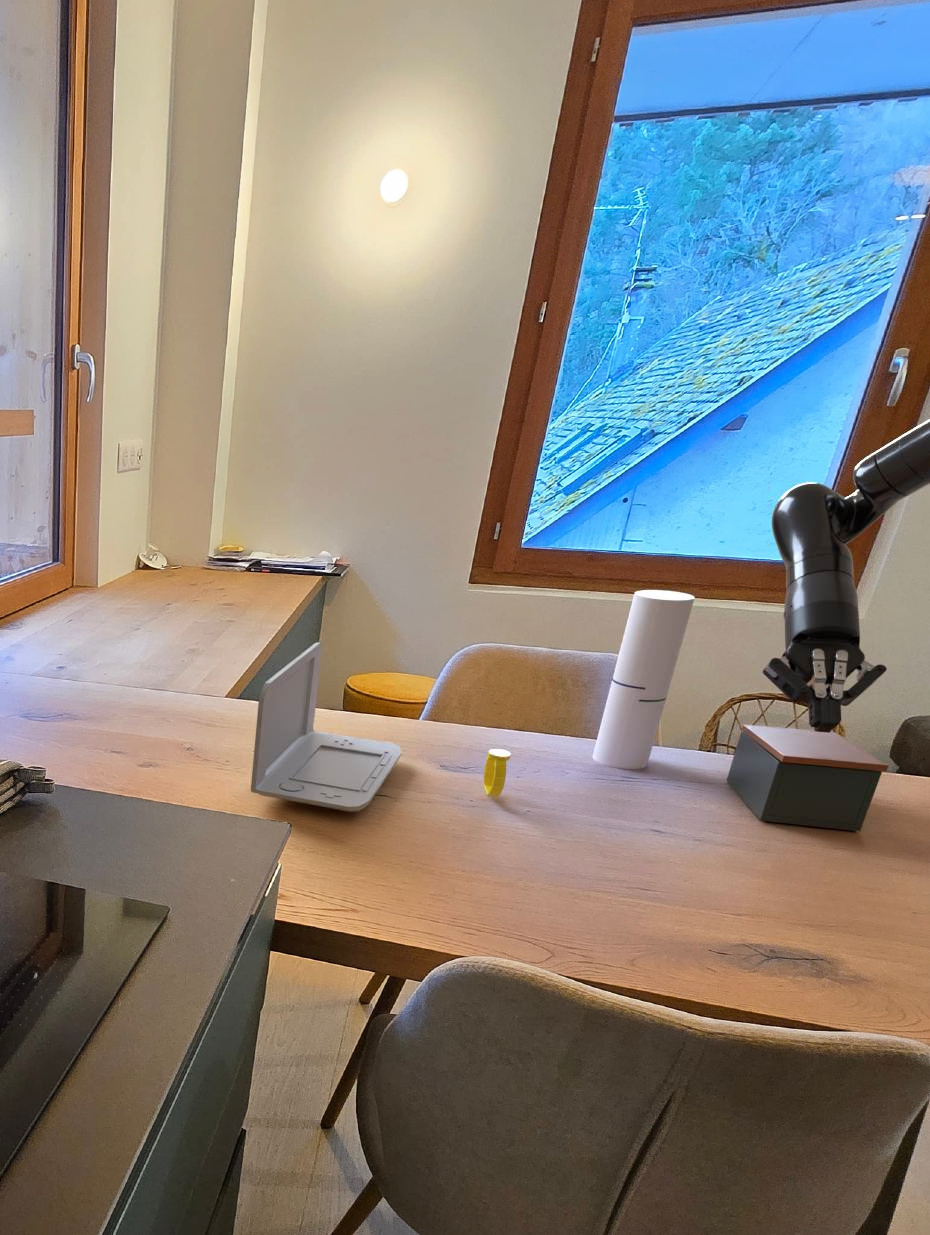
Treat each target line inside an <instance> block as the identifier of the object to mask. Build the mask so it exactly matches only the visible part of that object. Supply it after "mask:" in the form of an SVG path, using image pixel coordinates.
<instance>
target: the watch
mask: <svg viewBox="0 0 930 1235" xmlns="http://www.w3.org/2000/svg"><path fill="white" fill-rule="evenodd" d="M511 755H512V754H511V752H510V751H508V750H505V749H502V748H501V749H500V748H491V749H489V750H488V751H487V758H486V760H485V765H484V771H483V788H484V791H485V793H486V796H487V797H499V796H500V795H501V794H502V792H503V789H504V787H505V781H506V777H507V761H509V760H511Z"/></svg>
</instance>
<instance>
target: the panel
mask: <svg viewBox="0 0 930 1235" xmlns="http://www.w3.org/2000/svg"><path fill="white" fill-rule="evenodd" d="M741 731H743V732H745V733H746V734H747V735H749V736H750V737H751V738H752V739H754V740H755V741H756V742H758V743H759V744H760V745H761V746H763V747H764V748H765V749H766V750H768V751H769V752H770V753H772V754H773V755H774V756H775V757H777V758H778V759H779V760H780V761H782V762H789V763H800V764H810V765H821V766H832V767H843V768H853V769H864V770H875V771H881V772H887V771H888V769H889V764H887V763H886V762H884V761H882V760H881V759H879V758H877V757H876V756H874V755H872V754H871V753H869V752H868V751H867V750H865V749H863V748H861V747H859V746H858V745H856V744H854V743H853V742H851V741H850V740H848V739H846V738H845V737H844V736H842V735H840V734H838V733H837V732H835V731H830V732H829V733H827V732H815V731H814V729H813V730H812V729H801V728H799V729H798V728H789V727H787V728H786V727H778V726H777V727H775V726H764V725H752V724H742V728H741Z"/></svg>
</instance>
